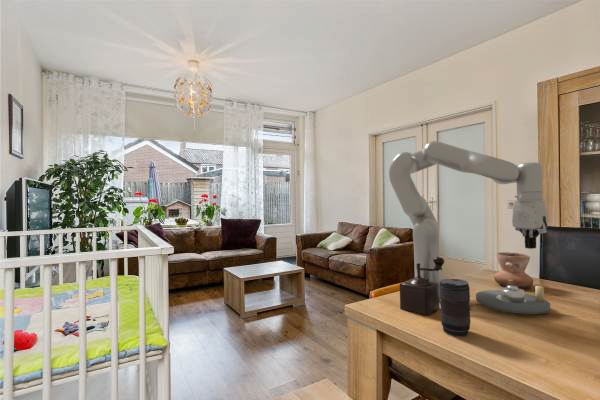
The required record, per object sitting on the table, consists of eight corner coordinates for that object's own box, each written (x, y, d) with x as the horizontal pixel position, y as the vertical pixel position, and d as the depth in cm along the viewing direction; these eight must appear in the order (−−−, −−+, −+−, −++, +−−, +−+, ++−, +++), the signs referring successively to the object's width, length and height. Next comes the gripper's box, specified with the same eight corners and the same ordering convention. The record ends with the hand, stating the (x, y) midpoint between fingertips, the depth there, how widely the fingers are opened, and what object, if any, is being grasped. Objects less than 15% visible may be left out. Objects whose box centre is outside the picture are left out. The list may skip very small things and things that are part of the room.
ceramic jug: (529, 293, 127) (529, 258, 127) (489, 286, 138) (489, 254, 138) (537, 285, 140) (537, 253, 140) (500, 279, 150) (499, 250, 150)
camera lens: (444, 324, 98) (443, 276, 98) (473, 330, 93) (472, 280, 93) (436, 333, 92) (435, 282, 92) (467, 340, 86) (466, 286, 87)
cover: (503, 301, 108) (503, 288, 109) (498, 295, 115) (498, 283, 115) (527, 303, 106) (527, 289, 106) (521, 297, 113) (520, 284, 113)
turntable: (480, 309, 106) (479, 290, 106) (472, 291, 126) (472, 275, 126) (560, 317, 97) (560, 296, 97) (539, 297, 117) (538, 279, 117)
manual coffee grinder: (429, 316, 104) (428, 263, 104) (399, 309, 112) (398, 259, 112) (447, 305, 115) (446, 256, 115) (419, 299, 123) (417, 253, 123)
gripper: (502, 197, 118) (503, 245, 118) (542, 197, 104) (543, 252, 104) (518, 197, 120) (519, 244, 120) (559, 196, 106) (560, 250, 106)
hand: (530, 248), depth 112 cm, fingers closed
